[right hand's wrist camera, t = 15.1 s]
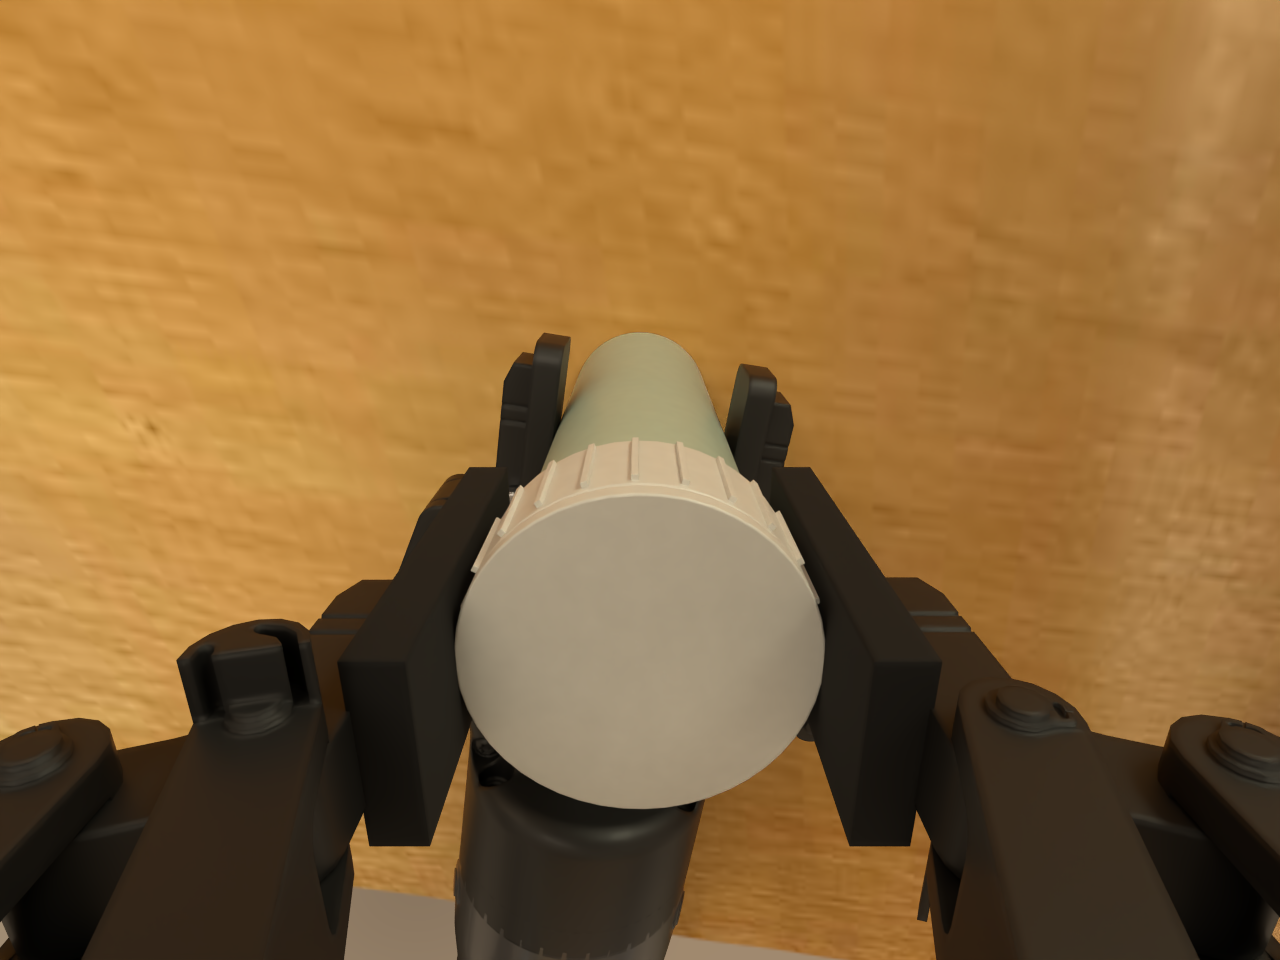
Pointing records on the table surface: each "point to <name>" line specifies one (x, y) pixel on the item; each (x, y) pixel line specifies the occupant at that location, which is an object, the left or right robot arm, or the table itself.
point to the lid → (639, 628)
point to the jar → (640, 400)
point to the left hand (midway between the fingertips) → (657, 358)
